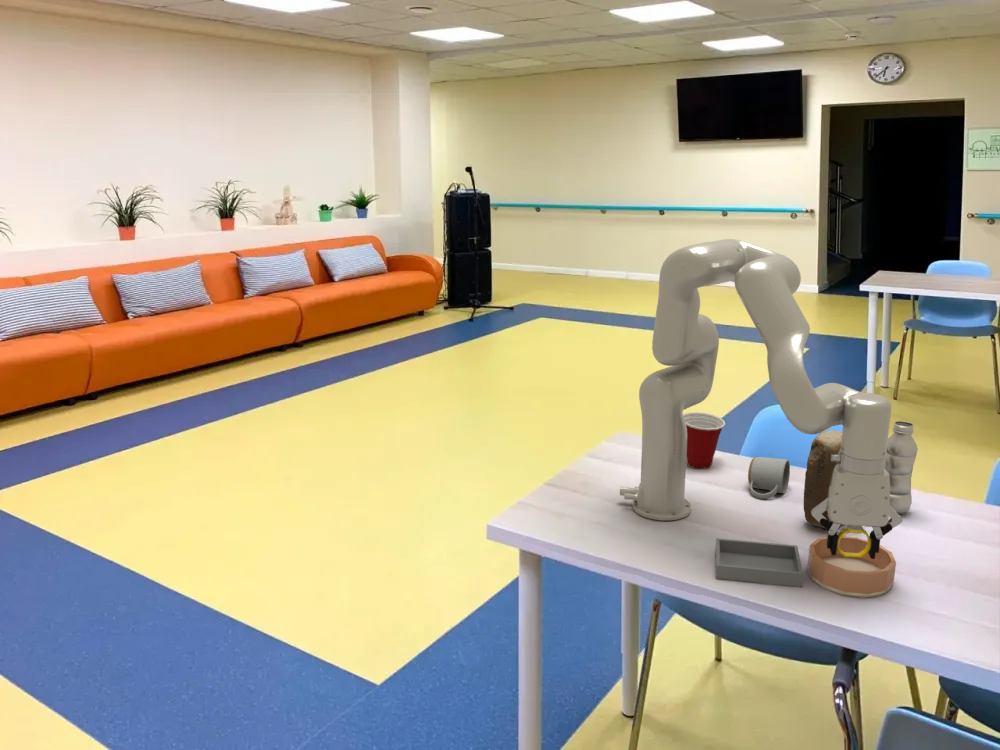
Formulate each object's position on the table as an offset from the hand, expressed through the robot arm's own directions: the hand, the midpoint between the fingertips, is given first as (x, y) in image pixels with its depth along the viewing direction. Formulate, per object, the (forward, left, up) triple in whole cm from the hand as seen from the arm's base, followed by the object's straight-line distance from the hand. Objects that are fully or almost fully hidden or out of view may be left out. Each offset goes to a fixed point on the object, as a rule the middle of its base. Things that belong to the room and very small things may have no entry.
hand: (852, 552), depth 160 cm
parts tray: (-17, 0, -5) cm, 17 cm away
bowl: (0, 0, -5) cm, 5 cm away
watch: (0, 0, -1) cm, 1 cm away
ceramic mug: (-12, +38, -5) cm, 40 cm away
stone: (-2, +23, -5) cm, 24 cm away
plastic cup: (-28, +51, -5) cm, 58 cm away
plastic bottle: (+13, +32, -5) cm, 35 cm away
